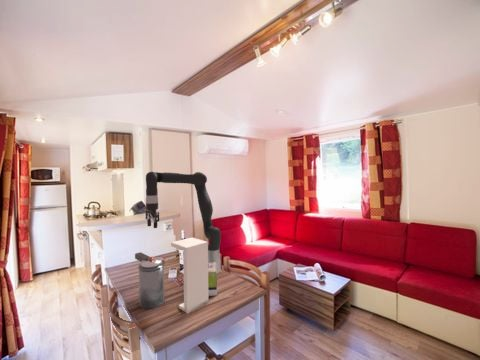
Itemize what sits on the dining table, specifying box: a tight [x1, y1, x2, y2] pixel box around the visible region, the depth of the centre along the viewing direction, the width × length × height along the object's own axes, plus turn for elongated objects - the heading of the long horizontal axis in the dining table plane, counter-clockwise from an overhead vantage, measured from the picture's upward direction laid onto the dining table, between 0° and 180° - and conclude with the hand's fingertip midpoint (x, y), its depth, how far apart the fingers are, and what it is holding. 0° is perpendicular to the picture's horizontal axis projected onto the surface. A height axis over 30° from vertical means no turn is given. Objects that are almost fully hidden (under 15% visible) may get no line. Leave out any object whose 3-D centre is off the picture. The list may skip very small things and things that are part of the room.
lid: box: [134, 251, 162, 269], centre depth 131 cm, size 24×11×4 cm, turn 47°
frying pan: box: [157, 253, 180, 265], centre depth 189 cm, size 32×13×6 cm, turn 127°
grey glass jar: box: [137, 262, 165, 310], centre depth 127 cm, size 14×14×21 cm
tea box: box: [208, 262, 218, 297], centre depth 141 cm, size 15×10×15 cm, turn 5°
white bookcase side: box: [170, 237, 210, 314], centre depth 126 cm, size 15×14×34 cm
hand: (152, 227), depth 148 cm, fingers open, 8 cm apart
